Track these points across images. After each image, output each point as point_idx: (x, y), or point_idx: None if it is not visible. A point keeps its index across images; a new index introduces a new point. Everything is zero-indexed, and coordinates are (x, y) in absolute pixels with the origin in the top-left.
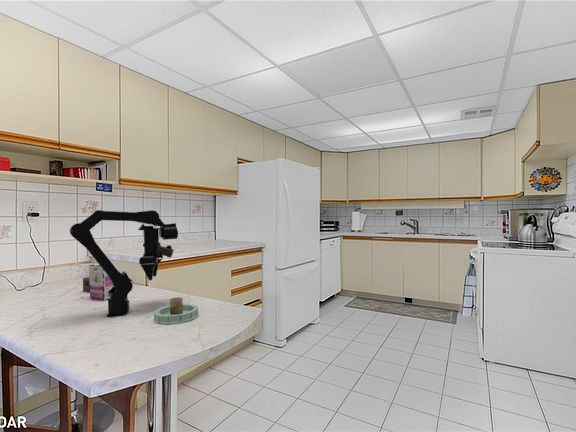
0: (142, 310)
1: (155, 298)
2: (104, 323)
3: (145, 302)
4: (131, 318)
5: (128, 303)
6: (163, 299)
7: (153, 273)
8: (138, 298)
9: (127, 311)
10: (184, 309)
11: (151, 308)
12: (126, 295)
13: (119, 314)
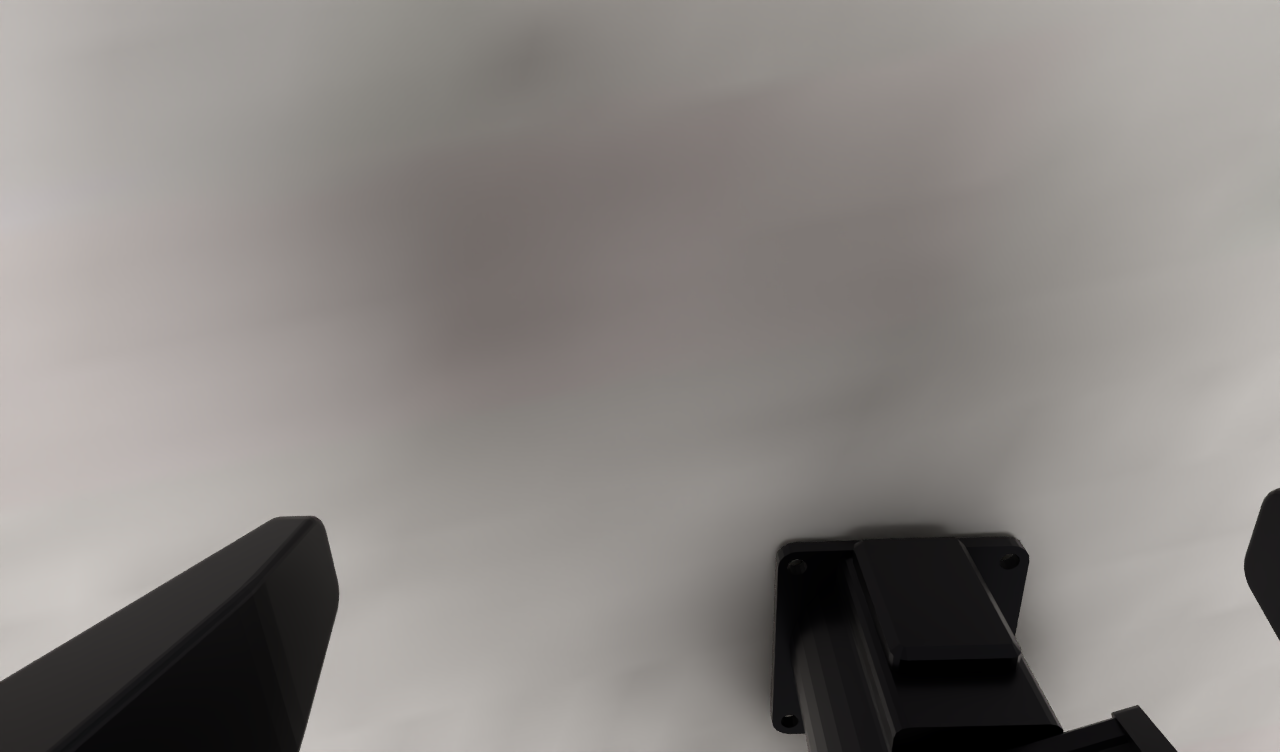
0: (843, 360)
1: (30, 319)
2: (1275, 663)
3: (311, 428)
4: (1245, 414)
5: (946, 615)
6: (123, 143)
7: (288, 686)
8: (19, 589)
9: (963, 544)
10: None
11: (771, 239)
12: (1167, 750)
13: (1020, 606)
